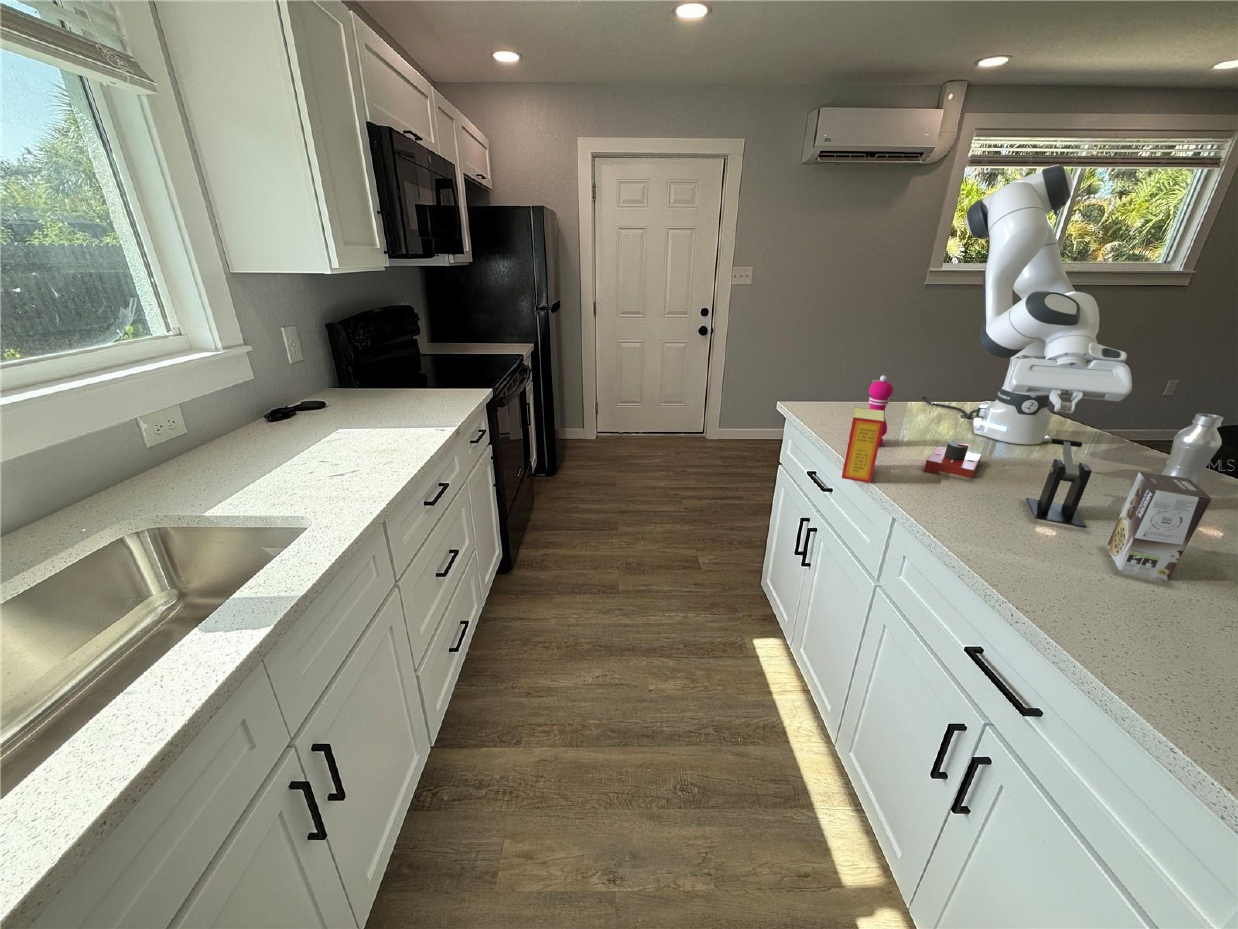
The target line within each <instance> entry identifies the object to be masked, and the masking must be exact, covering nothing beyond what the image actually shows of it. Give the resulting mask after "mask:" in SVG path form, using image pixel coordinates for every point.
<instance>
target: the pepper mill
mask: <svg viewBox="0 0 1238 929" xmlns="http://www.w3.org/2000/svg"><path fill="white" fill-rule="evenodd" d="M887 380H888V377H887V376H886V375H884V374H883V375H881V376H880V378H879V380H876V381H874V382H873V383H872V384H870V386H869V388H868V393H869V395H870V396H869V398H868V399H869V400H868V403H869V408H868V409H874V410H884V424H883V429H882V434H881V438H880V443H879V447H881V446H883V442H884V438H883V437H884V436H885V435H886V434H887V433H888V423H887V419H886V416H885V415H886V414H885V413H886V407H887V406H888V405H889V401H890V399H889V398H890V397H892V395H894V394H893V393H894V386H893V384H892V383H890V382H889V381H887Z"/></svg>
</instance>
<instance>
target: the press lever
mask: <svg viewBox="0 0 1238 929" xmlns="http://www.w3.org/2000/svg"><path fill="white" fill-rule="evenodd" d="M1049 444H1051V445H1058V446H1059V445H1060V446H1061V449H1062V457H1063V464H1064V465H1065V467H1066V468H1065V470H1064V473H1063V476H1062V478H1061V481H1062V482H1068V483H1072V482H1073V483H1075V481H1076V480H1077V478H1078V477H1079V475H1080V473H1079V466H1078V465H1079V464H1074V460H1073V454H1072V447H1074V448H1082V446H1083V441H1079V440H1071V439H1063V438H1054V437H1050V441H1049ZM1061 481H1060V482H1061Z"/></svg>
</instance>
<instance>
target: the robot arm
mask: <svg viewBox="0 0 1238 929" xmlns="http://www.w3.org/2000/svg"><path fill="white" fill-rule="evenodd" d="M1073 188H1074V179H1073V177H1072V174H1071V173H1070V171H1069V170H1067V169H1066V168H1065V167H1064V166H1063V165H1060V164H1055V165H1052V166H1047V167H1045V168H1042V169H1041V170H1040V171H1036V172H1035V173H1032V174H1028V175H1026V176H1024V177H1021V178H1019V179H1016V180H1015V181H1012V182H1010V183H1008V184H1005V185H1004V186H1002V187H1000V188H999V189H997V190H996V191H994V192H992V193H990V194H988V195H987V196H986V197H983V198H980V199H978V200H976V201H975V202H974V203H972V204H971V205H970V206H969V207H968V209H967V210H966V216H965V224H966V225H965V227H966V229H967V231H968V232H969V234H970V235H971V236H972V237H973V238H974V239H976V240H977V239H978V240H985V239H989V247H988V248H989V249H988V256H987V261H986V265H985V268H984V271H983V277H982V278H983V279H982V321H981V323H982V324H981V325H980V328H979V333H978V340H979V344H980V348H982V350H983V351H984V352H985V353H986V354H988V355H989V356H992V357H995V358H1000V359H1010V361H1009V365H1008V369H1007V372H1006V375H1005V379H1004V382H1003V385H1002V387H1000V389H999V391H998V393H997V396H996V399H995V400H994V401H993V402H991V403H990V404H986V403H985V404H983V403H982V404H980V405H979V406H978V407H977V409H974V410H971V411H970V412H969V414H968V413H967V411H966V410H964V409H962V408H960V407H958V406H952V405H948V404H941V403H936V404H935V402H931V401H929V400H928V399H927V396H926V395H924V396H922V397H921V399H922V400H923V401H924V402H925V403H926V404H927V405H930V406H935V407H941V408H946V409H952V410H956V411H959V412H961V413H962V414H963V415H964V416H965V418H967V420H968V419H971V418H972V417H973V414H975V417H976V418H973V420H972V428H973V433H974V434H975V435H979V436H983V437H987V438H990V439H992V440H996V441H1000V442H1004V443H1008V444H1009V443H1010V444H1016V445H1028V446H1029V445H1031V446H1033V445H1039V444H1042V443H1045V442H1046V443H1047V442H1050V440H1051V436H1049V435H1047V433H1048V429H1049V426H1050V422H1051V417H1052V413H1051V411H1050V410H1048V407H1049V406H1050V403H1052V404H1053V406H1054V412H1056V413H1066V414H1073V413H1074V411H1075V409H1076V405H1077V404H1078V403H1079V402H1080V401H1081V399H1085V400H1088V399H1089V400H1098V401H1099V400H1100V401H1109V402H1121V401H1123V400H1124V399H1126V398H1127V397H1128V396H1129V395H1130V394H1131V392H1132V389H1133V379H1132V378H1133V377H1132V372H1131V369H1130V367H1129V366H1128V365H1127V364H1126V363H1125V362H1126V361H1127V358H1128V354H1127V352H1125V351H1123V350H1119V349H1115V348H1112V347H1108V346H1105V345H1102V344H1100V343H1098V340H1097V338H1096V337H1097V335H1098V333H1099V329H1100V310H1099V306H1098V303H1097V301H1096V299H1095V298H1094V297H1093V295H1091V294H1089V293H1086V292H1082V291H1076V290H1075V288H1074V287H1073V285H1072V283H1071V281H1070V280H1069V277H1068V274H1067V272H1066V270H1065V266H1064V263H1063V259H1062V255H1061V252H1060V251H1061V250H1060V247H1059V244H1058V239H1057V236H1056V234H1055V231H1054V228H1053V226H1052V224H1051V222H1050V221H1049V218H1048V215H1049V214H1050V213H1051V212H1052V211H1053V215H1054V217H1057V216H1058V215H1059V211H1060V210H1061V209H1062V208H1064V207H1065V206H1066V205H1067V203H1068V202H1069V200H1070V199H1071V197H1072V192H1073ZM1013 291H1014V293H1016V294H1017V296H1019V298H1020V299H1021V300H1019V301H1018V302H1016V303H1015V304H1014V305H1013V300H1014V299H1013ZM1060 397H1063V398H1064V397H1065V398H1070V401H1071V402H1070V401H1063V400H1062V398H1060ZM931 403H933V404H931Z"/></svg>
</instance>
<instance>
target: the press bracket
mask: <svg viewBox="0 0 1238 929" xmlns="http://www.w3.org/2000/svg"><path fill="white" fill-rule="evenodd" d="M1077 465H1078V466H1079V473H1080V475H1079V477H1078V478H1077V480H1076V481H1075V483H1073V482H1070V486H1069V488H1068V490H1067V492H1066V493H1067V494H1066V496H1065V498H1064V500H1063V503H1059V502H1053V501H1054V499H1055V496H1056V494H1057V492H1058V488H1059V486H1060V483H1061V478H1062V476H1063V473H1064V470H1065V468H1066V467H1065V465H1064V462H1063V461H1062V460H1061V459H1058V458H1054V459H1053V461H1052V465H1051V467H1050V468H1049V473H1048V475H1047V477H1046V481H1045V483H1044V486H1043V488H1042V491H1041V494H1040V497H1039V499H1035V498H1029V497H1026V498H1025V500H1026V502H1027V505H1028V507H1029V509H1030V511H1031V513H1032V516H1033V517H1034V519H1035V520H1041V521H1045V522H1051V523H1057V524H1063V525H1066V526H1067V525H1068V526H1072V527H1078V528H1084V529H1087V526H1086V524H1085V522H1084V521H1083V519H1082V518H1081V516H1080V515H1079V513H1078V511H1077V509H1078V507H1079V504H1080V502H1081V500H1082V498H1083V495H1084V492H1085V489H1086V487H1087V485H1088V482H1089V479H1090V478H1091V474H1092V472H1093V470H1092V469H1091V468H1090V467H1089V465H1088V464H1087V463H1086V462H1079V463H1078V464H1077Z"/></svg>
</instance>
